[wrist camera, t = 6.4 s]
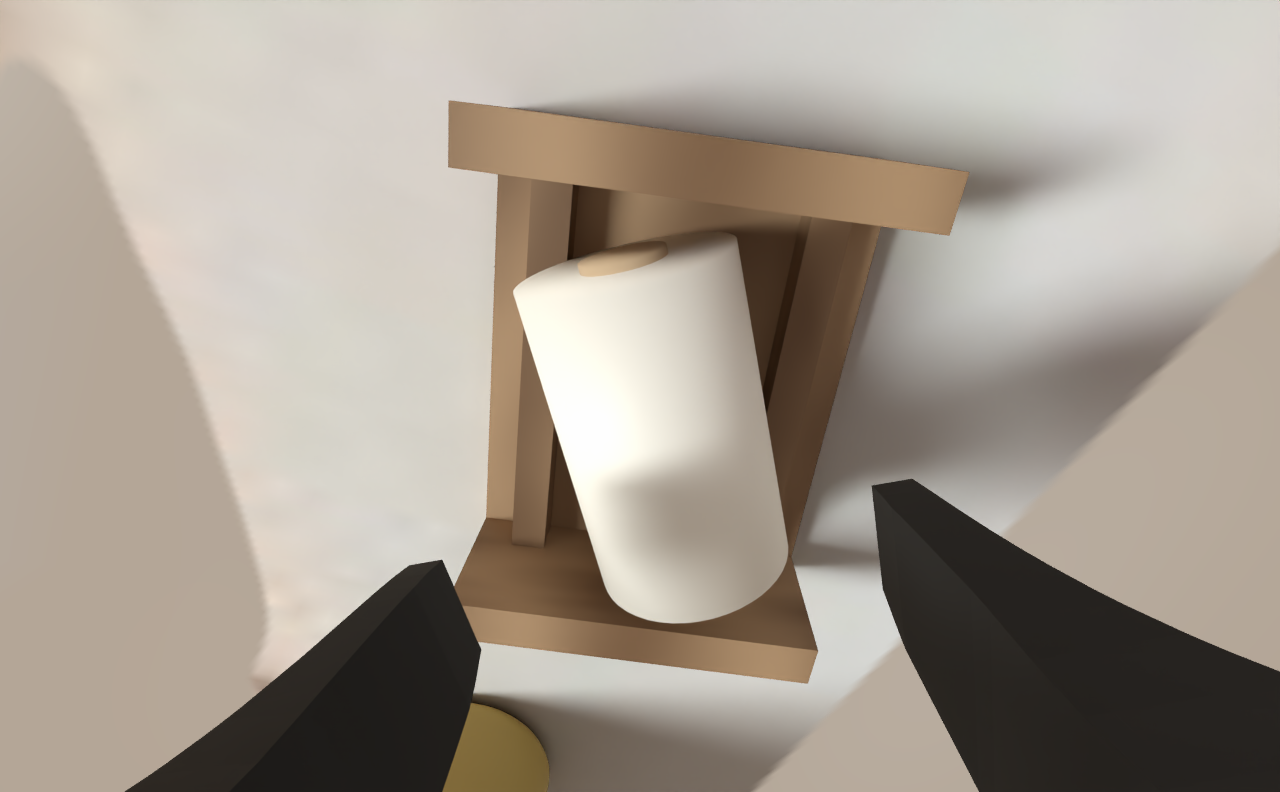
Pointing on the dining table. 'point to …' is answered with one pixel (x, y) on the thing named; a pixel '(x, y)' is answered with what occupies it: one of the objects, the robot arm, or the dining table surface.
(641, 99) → the dining table surface
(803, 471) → the holder
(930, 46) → the dining table surface
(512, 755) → the paper tube
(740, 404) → the roll
